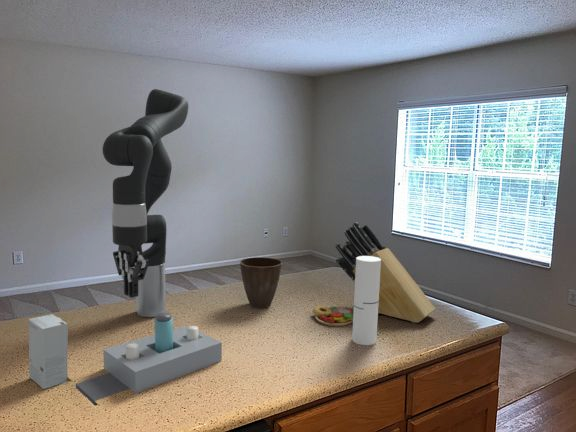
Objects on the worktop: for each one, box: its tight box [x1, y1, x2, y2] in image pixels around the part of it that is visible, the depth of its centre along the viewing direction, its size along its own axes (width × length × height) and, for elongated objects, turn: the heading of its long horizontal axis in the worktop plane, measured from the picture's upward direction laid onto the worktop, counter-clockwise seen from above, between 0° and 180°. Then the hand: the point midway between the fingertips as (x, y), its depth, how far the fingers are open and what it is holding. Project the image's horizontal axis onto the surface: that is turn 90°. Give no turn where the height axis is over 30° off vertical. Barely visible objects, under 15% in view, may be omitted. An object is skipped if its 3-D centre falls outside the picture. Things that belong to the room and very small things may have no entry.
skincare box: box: [28, 313, 69, 390], centre depth 111 cm, size 8×6×15 cm
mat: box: [75, 372, 130, 406], centre depth 108 cm, size 10×10×1 cm
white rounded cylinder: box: [126, 343, 139, 361], centre depth 112 cm, size 3×3×7 cm
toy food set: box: [312, 305, 353, 327], centre depth 157 cm, size 13×13×3 cm
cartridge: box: [154, 312, 174, 354], centre depth 118 cm, size 4×4×13 cm
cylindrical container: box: [351, 256, 381, 346], centre depth 138 cm, size 7×7×25 cm
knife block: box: [334, 221, 436, 323], centre depth 165 cm, size 11×35×31 cm, turn 54°
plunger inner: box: [187, 325, 199, 341], centre depth 124 cm, size 3×3×7 cm
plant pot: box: [239, 256, 283, 309], centre depth 168 cm, size 15×15×16 cm
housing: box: [103, 324, 223, 394], centre depth 119 cm, size 16×24×6 cm, turn 136°
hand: (131, 295), depth 110 cm, fingers closed
